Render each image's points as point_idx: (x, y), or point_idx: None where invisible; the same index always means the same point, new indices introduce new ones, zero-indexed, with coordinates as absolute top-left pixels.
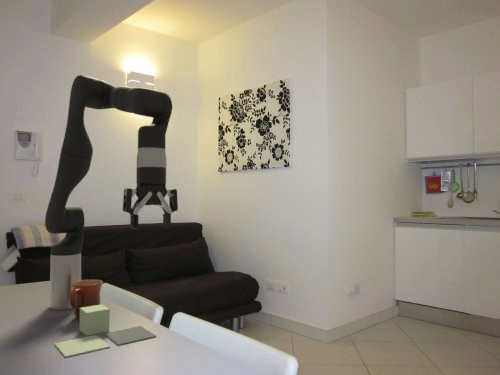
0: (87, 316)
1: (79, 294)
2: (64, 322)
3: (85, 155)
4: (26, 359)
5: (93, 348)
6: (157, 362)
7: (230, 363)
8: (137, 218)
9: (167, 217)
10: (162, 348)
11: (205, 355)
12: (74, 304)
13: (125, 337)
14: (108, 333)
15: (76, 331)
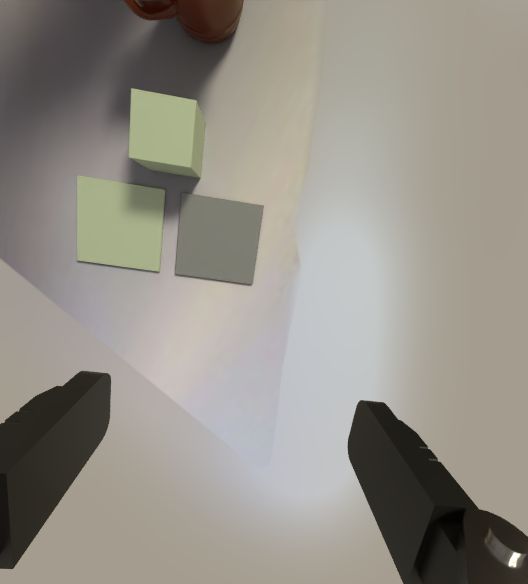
0: (135, 160)
1: None
2: None
3: None
4: (17, 216)
5: (131, 260)
6: (190, 379)
7: (264, 447)
8: (34, 519)
9: (391, 540)
10: (227, 339)
11: (259, 406)
12: (138, 15)
13: (203, 249)
14: (188, 199)
15: None
